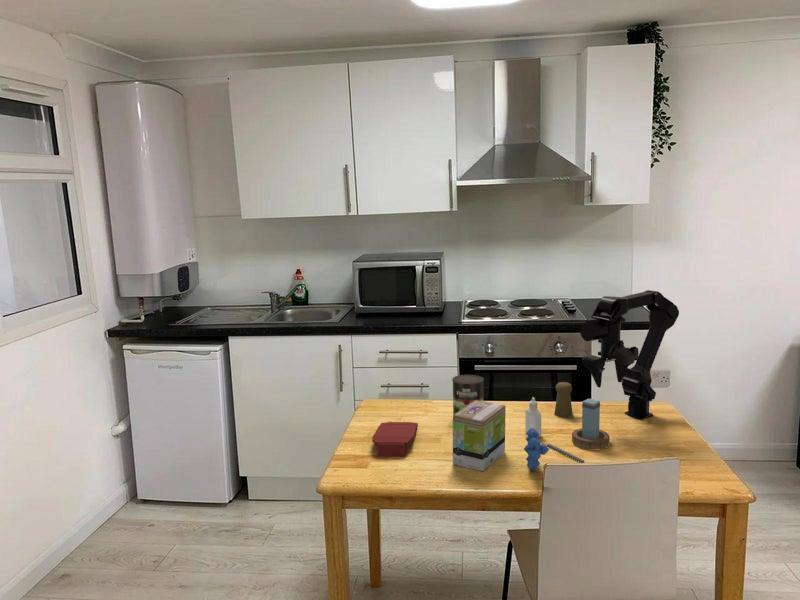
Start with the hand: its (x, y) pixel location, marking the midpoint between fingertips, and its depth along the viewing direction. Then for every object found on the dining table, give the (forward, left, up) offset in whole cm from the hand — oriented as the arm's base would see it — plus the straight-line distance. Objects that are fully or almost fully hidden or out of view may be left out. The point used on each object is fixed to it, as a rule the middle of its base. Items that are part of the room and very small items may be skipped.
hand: (609, 384), depth 198 cm
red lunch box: (+64, -26, -14) cm, 70 cm away
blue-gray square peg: (+16, +8, -13) cm, 22 cm away
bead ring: (+16, +8, -13) cm, 22 cm away
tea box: (+50, -1, -13) cm, 52 cm away
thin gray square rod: (+28, +10, -13) cm, 32 cm away
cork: (+6, -14, -13) cm, 20 cm away
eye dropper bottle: (+26, -6, -13) cm, 30 cm away
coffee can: (+35, -28, -13) cm, 47 cm away
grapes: (+41, +13, -13) cm, 46 cm away
